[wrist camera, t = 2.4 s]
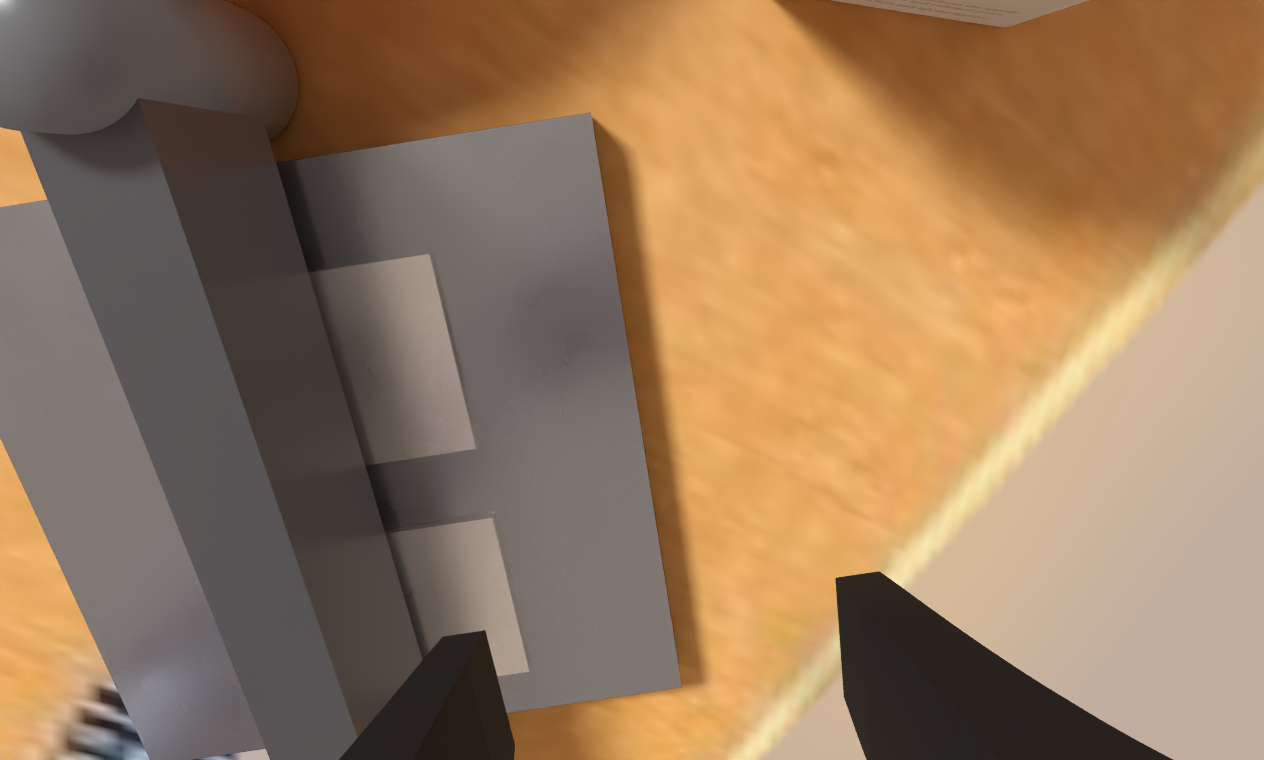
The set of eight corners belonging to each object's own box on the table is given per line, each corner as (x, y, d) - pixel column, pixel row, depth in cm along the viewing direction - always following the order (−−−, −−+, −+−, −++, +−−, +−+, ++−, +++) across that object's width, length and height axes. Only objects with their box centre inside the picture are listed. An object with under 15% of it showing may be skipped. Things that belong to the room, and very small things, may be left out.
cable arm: (142, 15, 15) (-153, -85, 9) (275, -6, 15) (63, -121, 9) (374, 715, 21) (282, 924, 15) (470, 701, 21) (415, 905, 15)
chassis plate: (678, 663, 21) (682, 692, 20) (173, 738, 21) (148, 770, 20) (591, 116, 16) (590, 112, 15) (-59, 220, 16) (-109, 223, 15)
